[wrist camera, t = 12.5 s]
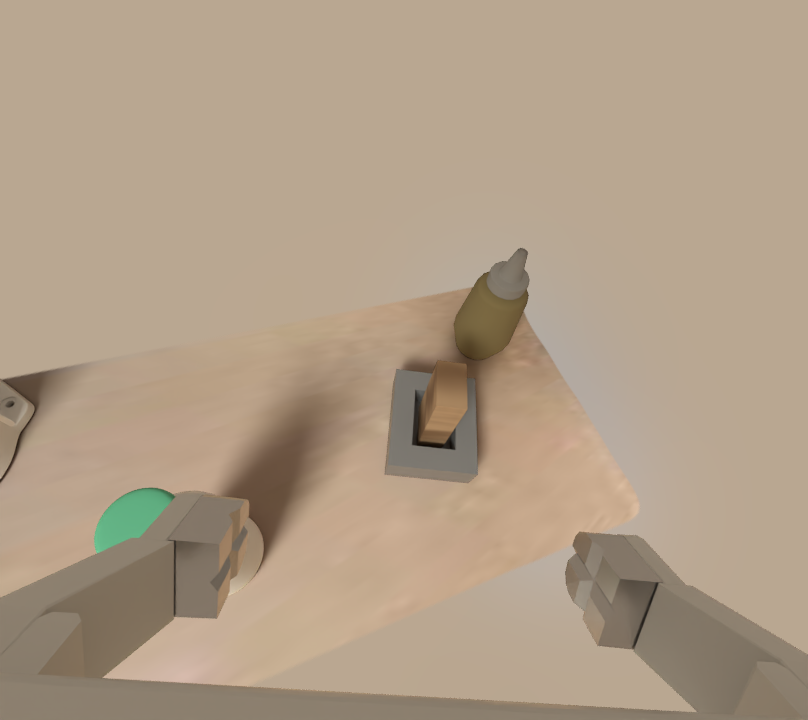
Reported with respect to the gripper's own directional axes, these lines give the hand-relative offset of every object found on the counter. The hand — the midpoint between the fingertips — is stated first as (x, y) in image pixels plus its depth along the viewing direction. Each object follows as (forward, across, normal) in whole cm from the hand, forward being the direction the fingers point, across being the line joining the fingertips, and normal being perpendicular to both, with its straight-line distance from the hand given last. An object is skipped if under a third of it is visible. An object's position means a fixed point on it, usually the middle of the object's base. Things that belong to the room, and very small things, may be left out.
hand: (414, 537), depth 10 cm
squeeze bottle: (+47, -13, +4) cm, 49 cm away
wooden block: (+37, -7, +13) cm, 39 cm away
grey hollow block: (+37, -7, +14) cm, 40 cm away
